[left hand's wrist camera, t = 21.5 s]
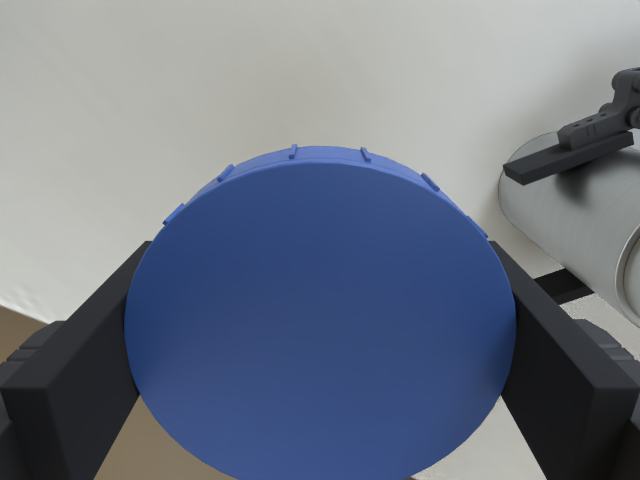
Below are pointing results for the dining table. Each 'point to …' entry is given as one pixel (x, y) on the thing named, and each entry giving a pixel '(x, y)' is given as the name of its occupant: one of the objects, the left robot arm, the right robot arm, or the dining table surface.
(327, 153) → the lid
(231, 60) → the dining table surface
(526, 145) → the jar
